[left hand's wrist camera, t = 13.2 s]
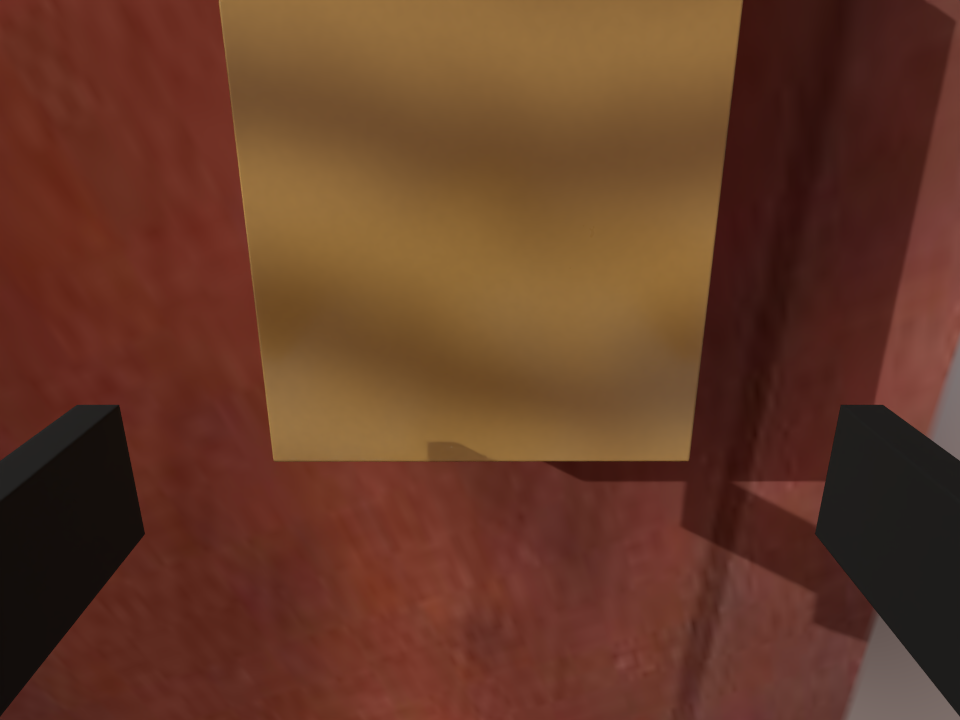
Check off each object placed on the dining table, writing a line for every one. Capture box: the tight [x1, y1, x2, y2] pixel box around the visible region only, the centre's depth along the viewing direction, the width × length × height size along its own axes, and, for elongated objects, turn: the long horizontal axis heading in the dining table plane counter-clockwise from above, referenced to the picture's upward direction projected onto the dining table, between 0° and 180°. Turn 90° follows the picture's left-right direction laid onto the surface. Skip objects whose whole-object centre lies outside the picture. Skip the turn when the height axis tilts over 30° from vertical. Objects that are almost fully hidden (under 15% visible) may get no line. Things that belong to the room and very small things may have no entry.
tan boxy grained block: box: [219, 0, 743, 461], centre depth 19 cm, size 17×11×8 cm, turn 0°
